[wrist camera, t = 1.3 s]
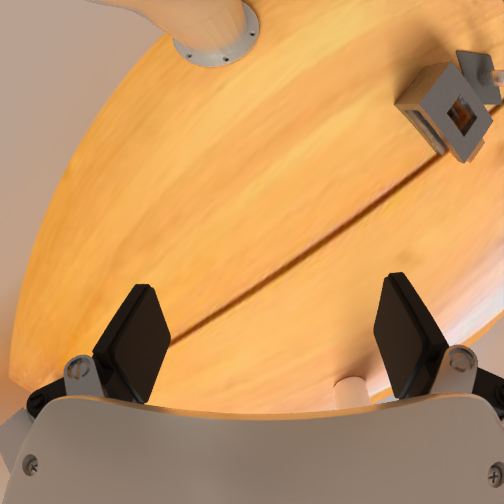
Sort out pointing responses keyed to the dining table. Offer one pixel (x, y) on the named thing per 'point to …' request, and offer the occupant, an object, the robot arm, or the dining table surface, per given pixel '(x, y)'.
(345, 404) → the alcohol
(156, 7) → the robot arm
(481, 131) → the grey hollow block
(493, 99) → the mat
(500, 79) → the pin
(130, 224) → the dining table surface
